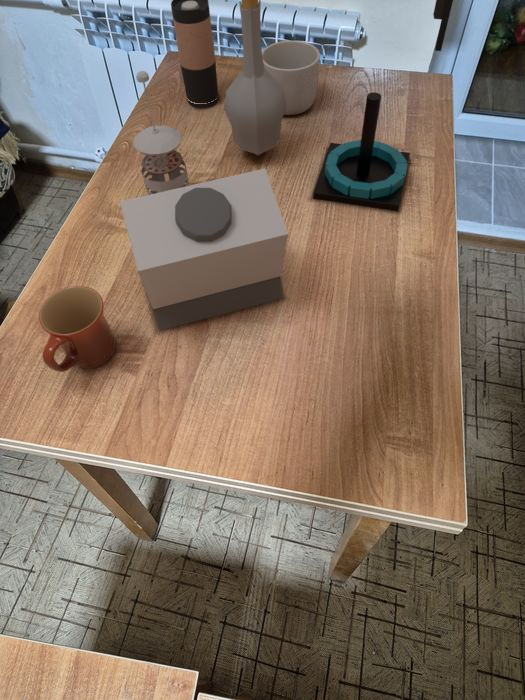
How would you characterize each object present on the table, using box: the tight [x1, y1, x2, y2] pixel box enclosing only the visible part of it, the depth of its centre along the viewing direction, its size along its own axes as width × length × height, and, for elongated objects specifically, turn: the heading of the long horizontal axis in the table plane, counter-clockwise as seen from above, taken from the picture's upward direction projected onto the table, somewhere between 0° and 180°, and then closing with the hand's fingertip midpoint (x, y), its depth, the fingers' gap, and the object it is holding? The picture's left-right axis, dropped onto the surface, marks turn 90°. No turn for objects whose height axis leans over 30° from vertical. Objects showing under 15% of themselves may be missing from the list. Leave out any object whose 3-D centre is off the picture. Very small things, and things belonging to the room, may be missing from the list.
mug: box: [38, 285, 117, 373], centre depth 73 cm, size 12×9×10 cm
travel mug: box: [170, 0, 219, 109], centre depth 109 cm, size 8×8×20 cm
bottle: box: [223, 0, 287, 157], centre depth 93 cm, size 11×11×30 cm
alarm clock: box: [119, 168, 289, 332], centre depth 76 cm, size 20×16×20 cm
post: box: [312, 91, 411, 212], centre depth 93 cm, size 16×16×16 cm
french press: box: [132, 70, 190, 195], centre depth 87 cm, size 10×12×25 cm
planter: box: [262, 40, 321, 116], centre depth 110 cm, size 12×12×11 cm
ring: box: [325, 139, 409, 199], centre depth 97 cm, size 15×15×2 cm
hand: (493, 51), depth 65 cm, fingers open, 13 cm apart
